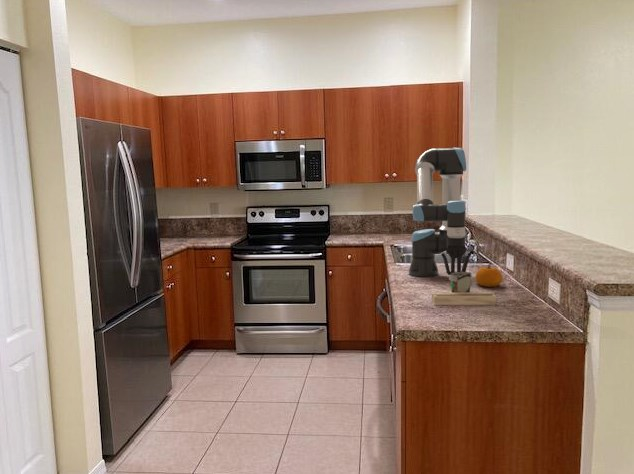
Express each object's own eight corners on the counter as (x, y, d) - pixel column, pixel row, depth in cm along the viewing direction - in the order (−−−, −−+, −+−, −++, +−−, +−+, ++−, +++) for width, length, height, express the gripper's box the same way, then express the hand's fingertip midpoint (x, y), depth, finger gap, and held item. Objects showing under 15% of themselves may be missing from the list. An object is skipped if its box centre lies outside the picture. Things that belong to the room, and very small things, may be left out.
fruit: (504, 284, 224) (505, 263, 222) (498, 289, 214) (499, 267, 213) (479, 281, 230) (479, 261, 229) (472, 287, 220) (472, 265, 219)
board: (431, 301, 198) (431, 291, 197) (491, 300, 196) (491, 291, 195) (434, 304, 192) (434, 295, 191) (495, 304, 190) (495, 294, 189)
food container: (458, 293, 210) (458, 270, 209) (471, 295, 205) (471, 272, 204) (443, 298, 201) (443, 275, 200) (456, 300, 197) (456, 277, 196)
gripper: (442, 238, 202) (441, 292, 205) (473, 237, 201) (473, 292, 204) (439, 235, 210) (438, 288, 213) (469, 235, 209) (469, 288, 212)
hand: (455, 290), depth 209 cm, fingers closed
